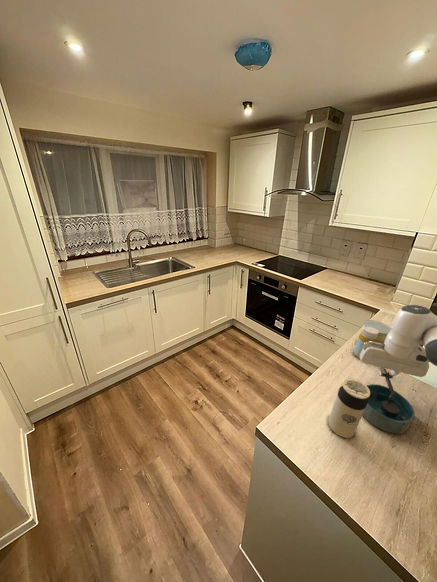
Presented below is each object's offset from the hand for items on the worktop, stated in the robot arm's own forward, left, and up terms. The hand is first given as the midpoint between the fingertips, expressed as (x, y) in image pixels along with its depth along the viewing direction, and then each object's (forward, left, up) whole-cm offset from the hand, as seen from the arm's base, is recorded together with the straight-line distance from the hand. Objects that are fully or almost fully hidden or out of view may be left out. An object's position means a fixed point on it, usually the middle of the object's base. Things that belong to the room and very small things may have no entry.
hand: (385, 376), depth 89 cm
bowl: (+1, +11, -8) cm, 14 cm away
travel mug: (+15, +22, -8) cm, 28 cm away
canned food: (-2, -31, -8) cm, 32 cm away
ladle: (0, +5, -5) cm, 8 cm away
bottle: (+3, -21, -8) cm, 23 cm away
